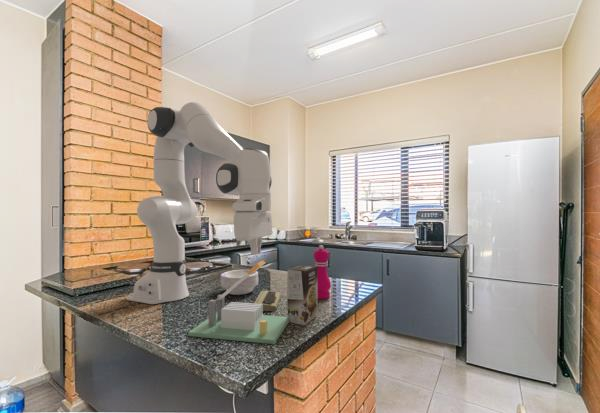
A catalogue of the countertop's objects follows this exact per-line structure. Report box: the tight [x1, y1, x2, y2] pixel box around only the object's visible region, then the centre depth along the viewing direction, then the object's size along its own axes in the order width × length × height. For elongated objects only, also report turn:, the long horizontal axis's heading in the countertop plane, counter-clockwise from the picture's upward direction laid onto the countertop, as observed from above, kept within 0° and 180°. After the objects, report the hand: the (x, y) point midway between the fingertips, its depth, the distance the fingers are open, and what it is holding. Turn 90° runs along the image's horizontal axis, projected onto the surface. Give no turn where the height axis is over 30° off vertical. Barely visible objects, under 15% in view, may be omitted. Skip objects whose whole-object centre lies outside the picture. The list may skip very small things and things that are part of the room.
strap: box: [215, 260, 266, 305], centre depth 83 cm, size 19×5×1 cm
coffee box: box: [286, 264, 319, 326], centre depth 89 cm, size 9×6×16 cm
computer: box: [253, 290, 282, 312], centre depth 104 cm, size 16×8×3 cm, turn 178°
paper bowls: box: [220, 269, 259, 296], centre depth 119 cm, size 15×15×8 cm
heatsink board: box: [187, 294, 290, 345], centre depth 82 cm, size 24×16×8 cm, turn 78°
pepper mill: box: [313, 244, 332, 300], centre depth 112 cm, size 7×7×20 cm
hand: (255, 253), depth 82 cm, fingers closed
